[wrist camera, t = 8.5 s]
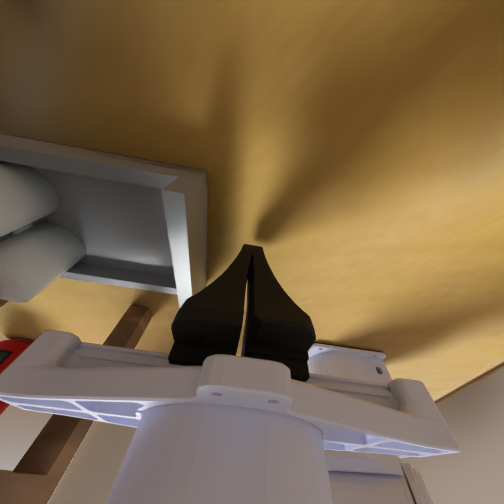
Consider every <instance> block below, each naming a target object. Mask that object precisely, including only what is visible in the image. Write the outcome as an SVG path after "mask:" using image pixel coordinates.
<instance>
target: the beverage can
mask: <svg viewBox="0 0 504 504" xmlns="http://www.w3.org/2000/svg"><path fill="white" fill-rule="evenodd" d="M32 343H33V341H29V340H25V339H12V340H5V341H1V342H0V374H1V373H2V372H3V371H4V370H5V369H6V368H7V367H8V366H9V365H10V364H11V363H12V362H13V361H14V360H15V359H16V358H18V357H19V356H20V355H21V354H22V353H23V352H24V351H25V350H26V349H27V348H28V347H29V346H30V345H31V344H32ZM9 405H10V404H8V403H6V402H3V401H1V400H0V415H1V414H2V413H3V411H4V410H5V409H6V408H7V407H8V406H9Z"/></svg>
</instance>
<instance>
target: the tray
mask: <svg viewBox="0 0 504 504" xmlns="http://www.w3.org/2000/svg"><path fill="white" fill-rule="evenodd" d="M207 233H208V171H205V170H199V169H194V168H188V167H183V166H177V165H172V164H166V163H160V162H155V161H149V160H144V159H138V158H133V157H127V156H122V155H116V154H110V153H105V152H99V151H94V150H88V149H83V148H77V147H71V146H66V145H60V144H55V143H49V142H44V141H38V140H33V139H27V138H21V137H16V136H10V135H5V134H0V299H3V300H6V301H11V302H18V303H23V302H27V301H29V300H30V299H32V298H33V297H34V296H35V295H37V294H38V293H39V292H40V291H42V290H43V289H44V288H46V287H47V286H48V285H49V284H51V283H52V282H53V281H54V280H56V279H57V278H58V277H62V278H69V279H75V280H82V281H89V282H95V283H102V284H109V285H115V286H122V287H129V288H135V289H142V290H149V291H155V292H162V293H169V294H175V295H178V301H179V308H181V306H182V305H183V303H184V302H185V301H186V299H188V298H189V297H191V296H193V295H195V294H196V293H198V292H200V291H201V290H203V289H204V288H205V287H206V284H207Z"/></svg>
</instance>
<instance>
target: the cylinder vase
mask: <svg viewBox="0 0 504 504" xmlns="http://www.w3.org/2000/svg"><path fill="white" fill-rule="evenodd" d="M136 429H137V428H135V427H129V426H124V425H118V424H112V423H106V422H101V421H95V420H94V422H93V424H92V426H91V428H90V430H89V431H88V433H87V435H86V437H85V438H84V441H83V442H82V444H81V445H80V447H79V449H78V451H77V453H76V454H75V456H74V458H73V460H72V461H71V463H70V465H69V467H68V469H67V470H66V472H65V474H64V476H63V477H62V479H61V481H60V483H59V485H58V486H57V488H56V490H55V492H54V494H53V495H52V497H51V499H50V501H49V502H48V504H106V501H107V499H108V496H109V494H110V491H111V489H112V487H113V484H114V482H115V479H116V477H117V475H118V472H119V470H120V467H121V465H122V463H123V460H124V458H125V455H126V453H127V451H128V448H129V446H130V443H131V441H132V438H133V436H134V434H135V431H136Z"/></svg>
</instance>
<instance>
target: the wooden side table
mask: <svg viewBox="0 0 504 504" xmlns="http://www.w3.org/2000/svg"><path fill="white" fill-rule="evenodd" d="M7 302H8V301H6V300H3V299H0V307H1V306H3V305H4V304H5V303H7ZM151 318H152V317H151V314H150V311H149V308H145V307H139V306H132V305H131V306H130V307H129V308H128V310H127V311H126V313H125V314H124V315H123V317H122V318H121V320H120V321H119V322H118V324H117V325H116V327H115V328H114V330H113V331H112V332H111V334H110V335H109V337H108V338H107V339H106V341H105V342H104V344H103V345H107V346H114V347H122V348H129V349H134V348H135V347H136V345H137V343H138V341H139V340H140V338H141V336H142V334H143V332H144V331H145V329H146V327H147V325H148V324H149V322H150V320H151ZM93 421H94V420H89V419H83V418H77V417H71V416H65V415H58V414H53V416H52V417H51V418H50V420H49V421H48V423H47V424H46V425H45V427H44V428H43V429H42V431H41V432H40V434H39V435H38V437H37V438H36V439H35V441H34V442H33V444H32V445H31V446H30V448H29V450H28V451H27V452H26V453H25V455H24V456H23V458H22V459H21V460H20V462H19V463H18V465H17V466H16V468H15V469H14V470H13V471H8V470H0V504H47V503H48V501H49V499H50V497H51V496H52V494H53V492H54V490H55V489H56V487H57V485H58V483H59V481H60V480H61V478H62V476H63V474H64V473H65V471H66V469H67V467H68V466H69V464H70V462H71V460H72V458H73V457H74V455H75V453H76V451H77V450H78V448H79V446H80V444H81V442H82V441H83V439H84V437H85V435H86V434H87V432H88V430H89V428H90V426H91V425H92V423H93Z"/></svg>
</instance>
